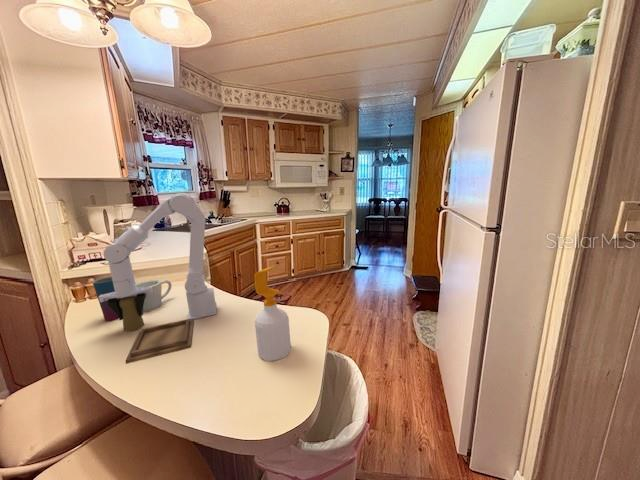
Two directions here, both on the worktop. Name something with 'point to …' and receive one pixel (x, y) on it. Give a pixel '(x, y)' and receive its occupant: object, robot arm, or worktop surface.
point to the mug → (153, 293)
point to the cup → (105, 287)
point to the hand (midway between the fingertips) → (131, 316)
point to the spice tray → (161, 340)
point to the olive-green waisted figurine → (130, 314)
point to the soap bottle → (271, 323)
